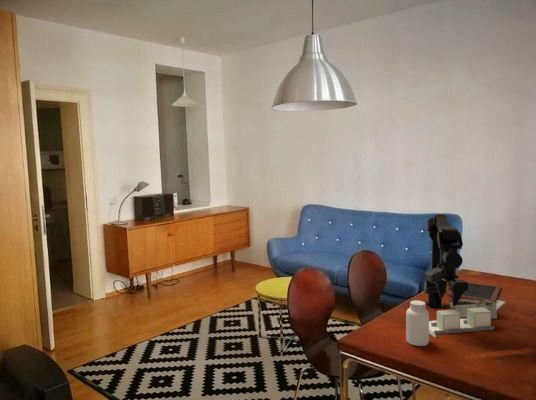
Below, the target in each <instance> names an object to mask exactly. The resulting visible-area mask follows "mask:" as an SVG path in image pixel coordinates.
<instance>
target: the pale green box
mask: <svg viewBox="0 0 536 400" xmlns="http://www.w3.org/2000/svg"><path fill="white" fill-rule="evenodd" d="M460 319H461V317H460V313H458V312H457V311H455V310H450V309H446V310H445V309H442V310H436V321H437V328H439V329H440V330H448V329H460Z"/></svg>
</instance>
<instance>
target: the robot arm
mask: <svg viewBox="0 0 536 400" xmlns="http://www.w3.org/2000/svg"><path fill="white" fill-rule="evenodd" d="M426 232H427V234H428V236H429V238H430V240H431V241H430V242H431V246H430V249H431V250H430V269H429V270H426V271H425V272H424V274H425V277H426V279H425V280H424V285H423V288H424V289H423V291H424V292H425V294H427V301H424V302H425V304H426V306H428V307H429V308H431V309H435V308H437V309H438V308H445V305H444V304H443V303H442V300H443V299H442V298H444V296H445V295H446V294H447V290H449V292H450V291H451V294H452V297H451V300H452V303H453V306H456V305H457V303H458V301H459V300H461V296H462V295H463V293H464V292H465V291H467V290H469V284H468V283H467V282H468V281H466V280H463V279H459V275H457V269H459V268H460V267H461V266H462V264H463V257H462V255H461V254H460V253H459V252H458V250H462V249H463V245H464V243H463V237H462V235H461V232H459V230H458V229H457V228H456V227H453V226H452V225H451V224H450V222H449V220H448V216H447V215H446V214H434V215H433V217H431V218H430V219H427V221H426ZM447 287H448V288H447Z"/></svg>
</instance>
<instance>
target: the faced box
mask: <svg viewBox="0 0 536 400" xmlns="http://www.w3.org/2000/svg"><path fill="white" fill-rule="evenodd" d="M466 318H467V325H468V326H470V327H471V328H473V327H485V326H492V325H491V324H492V318H491V311H490V310H488V309H486V308H484V307H481V308H468V309H467V317H466Z"/></svg>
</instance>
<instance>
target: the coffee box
mask: <svg viewBox="0 0 536 400" xmlns="http://www.w3.org/2000/svg"><path fill="white" fill-rule="evenodd" d="M448 307H449V310H455V311H457V312H458V313H460V318H467V309H468V308H481V307H484V308H486V309H488V310H490V311H491V319H498V315H497V312H498V311H497V303H496V302H495V303H494V302H491V301H488V300H468V299H459V301H458V303H457V305H456V306H453V303H452V298H450V299H448Z"/></svg>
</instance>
